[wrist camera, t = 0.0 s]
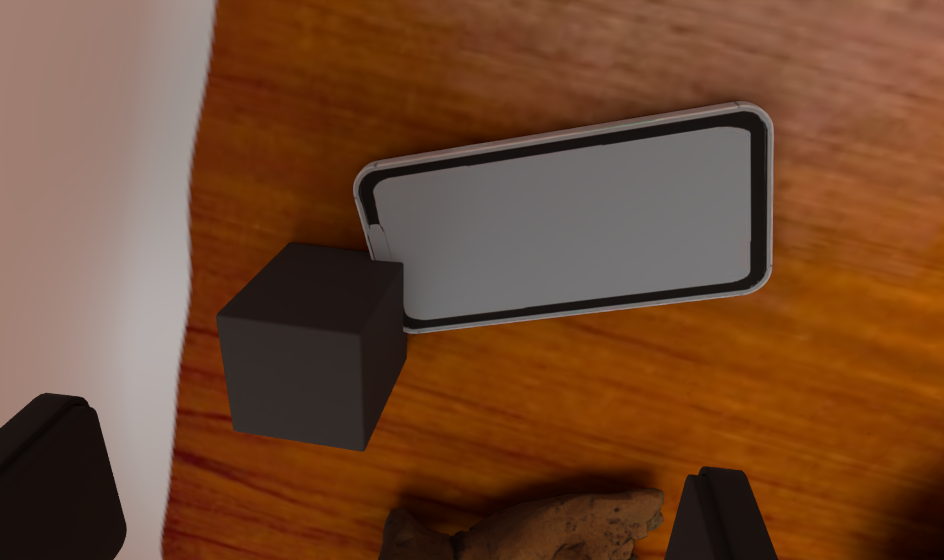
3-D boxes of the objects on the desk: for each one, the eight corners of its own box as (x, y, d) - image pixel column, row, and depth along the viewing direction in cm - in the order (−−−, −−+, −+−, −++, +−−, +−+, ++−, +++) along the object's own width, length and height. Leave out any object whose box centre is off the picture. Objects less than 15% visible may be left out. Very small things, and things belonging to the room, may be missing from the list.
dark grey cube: (289, 241, 27) (214, 314, 22) (407, 255, 26) (360, 334, 21) (298, 343, 29) (232, 431, 24) (407, 358, 28) (364, 453, 23)
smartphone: (772, 293, 25) (393, 337, 27) (765, 283, 26) (397, 327, 28) (774, 97, 22) (345, 168, 24) (766, 93, 22) (351, 162, 25)
